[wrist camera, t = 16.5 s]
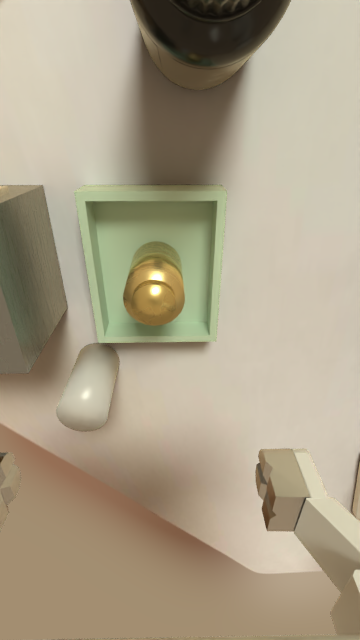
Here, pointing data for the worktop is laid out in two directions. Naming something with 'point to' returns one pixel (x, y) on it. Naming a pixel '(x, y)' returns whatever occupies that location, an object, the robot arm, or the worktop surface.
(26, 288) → the box
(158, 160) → the worktop surface
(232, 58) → the supplement bottle
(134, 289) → the brass fitting
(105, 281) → the tray
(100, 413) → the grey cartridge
